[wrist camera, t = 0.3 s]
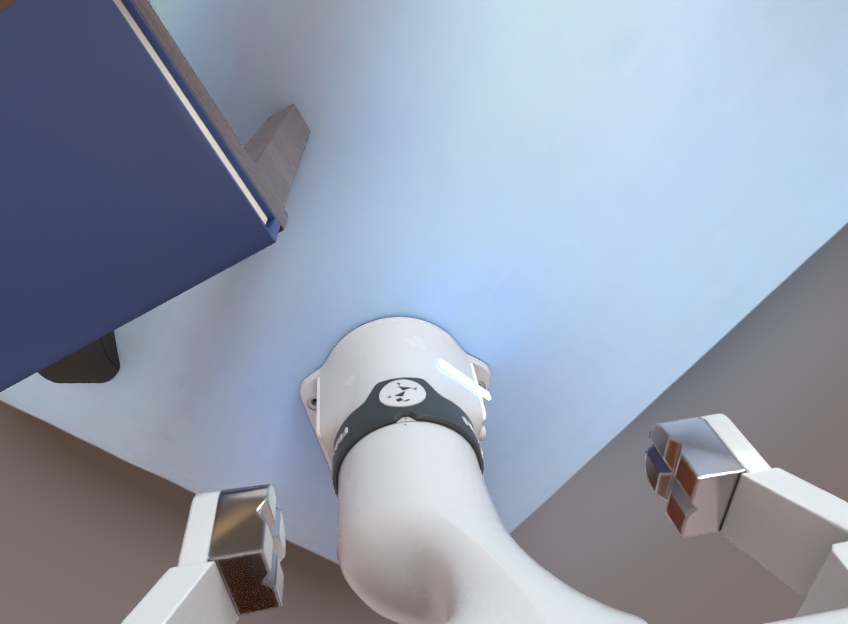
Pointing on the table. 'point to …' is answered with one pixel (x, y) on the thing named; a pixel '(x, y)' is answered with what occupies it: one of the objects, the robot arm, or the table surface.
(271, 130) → the stool
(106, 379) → the computer mouse
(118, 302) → the book
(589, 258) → the table surface
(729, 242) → the table surface
